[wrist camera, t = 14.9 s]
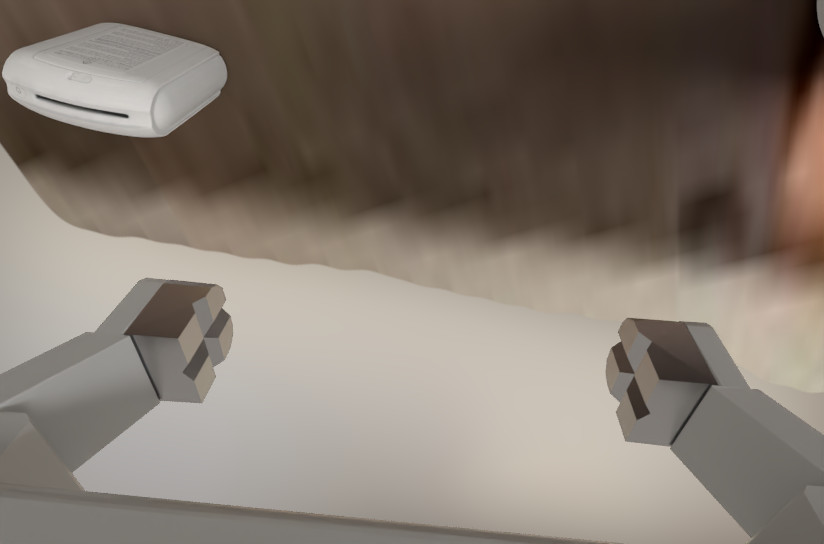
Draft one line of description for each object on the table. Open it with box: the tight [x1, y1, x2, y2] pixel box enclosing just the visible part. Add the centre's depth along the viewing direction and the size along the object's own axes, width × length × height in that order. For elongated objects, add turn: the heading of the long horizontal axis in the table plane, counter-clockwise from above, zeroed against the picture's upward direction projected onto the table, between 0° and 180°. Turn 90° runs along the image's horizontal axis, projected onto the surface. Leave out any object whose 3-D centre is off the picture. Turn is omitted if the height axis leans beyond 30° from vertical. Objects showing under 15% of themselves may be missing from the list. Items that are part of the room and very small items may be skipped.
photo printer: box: [2, 23, 227, 137], centre depth 34 cm, size 10×4×12 cm, turn 78°
